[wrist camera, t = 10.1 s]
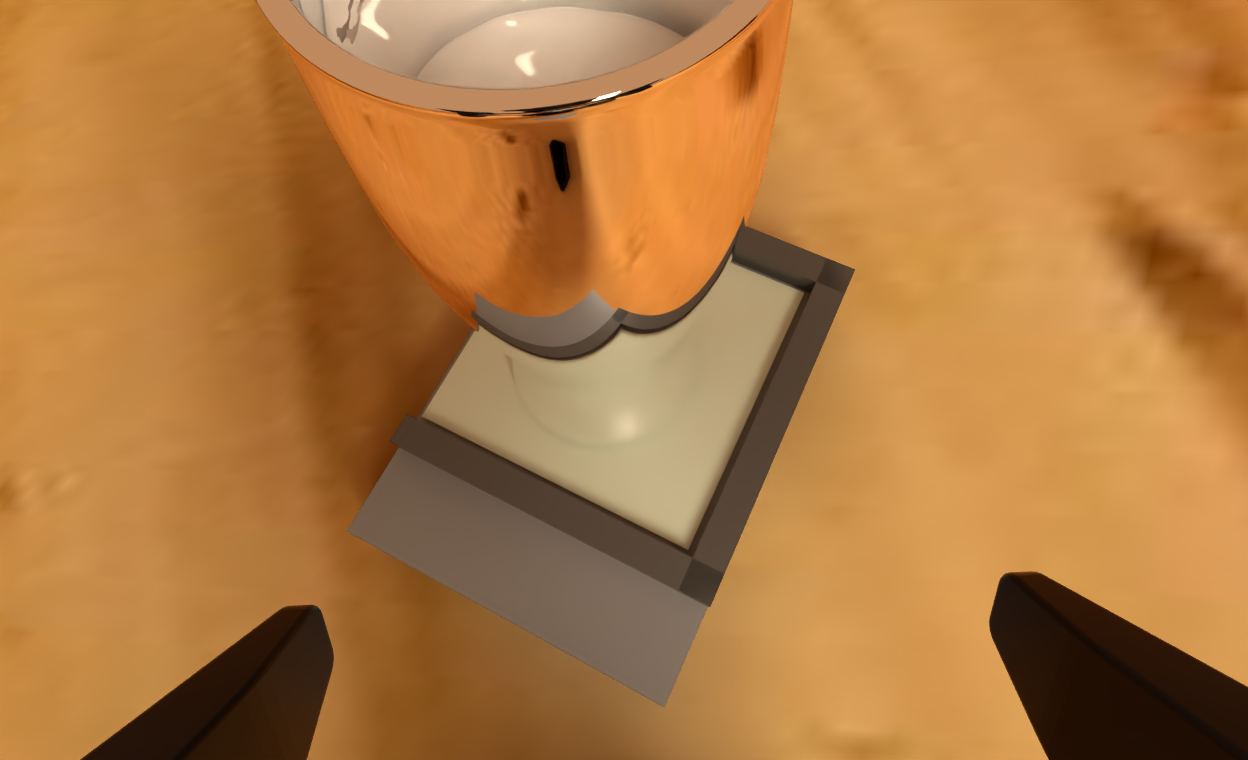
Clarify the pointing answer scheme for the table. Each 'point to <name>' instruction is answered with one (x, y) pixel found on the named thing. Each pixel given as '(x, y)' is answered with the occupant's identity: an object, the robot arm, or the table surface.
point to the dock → (609, 480)
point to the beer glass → (558, 173)
